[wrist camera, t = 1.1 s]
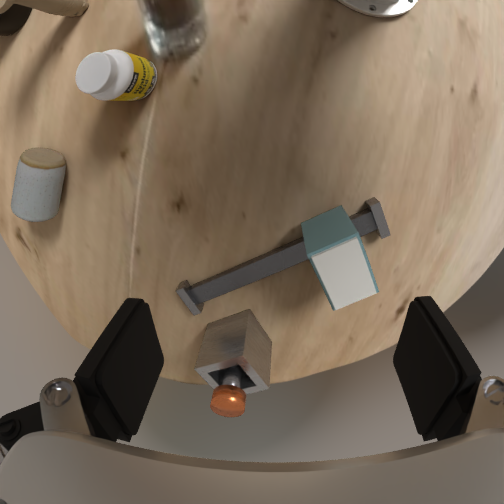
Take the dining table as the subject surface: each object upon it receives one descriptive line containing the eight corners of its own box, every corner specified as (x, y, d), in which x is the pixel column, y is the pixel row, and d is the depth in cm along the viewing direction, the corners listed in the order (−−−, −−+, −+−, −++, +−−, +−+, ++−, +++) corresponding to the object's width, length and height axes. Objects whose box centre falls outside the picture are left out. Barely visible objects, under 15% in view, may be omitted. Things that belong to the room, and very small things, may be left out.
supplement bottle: (156, 100, 29) (113, 99, 20) (116, 101, 29) (66, 104, 20) (161, 56, 27) (120, 41, 18) (120, 59, 27) (72, 49, 18)
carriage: (339, 202, 33) (359, 233, 24) (359, 251, 35) (380, 294, 27) (300, 219, 34) (306, 256, 26) (322, 267, 36) (333, 313, 28)
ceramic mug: (78, 156, 32) (40, 169, 26) (68, 210, 36) (34, 230, 29) (31, 136, 31) (-6, 146, 24) (23, 185, 35) (-10, 201, 28)
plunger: (241, 347, 37) (233, 396, 29) (255, 365, 38) (250, 414, 31) (215, 354, 38) (203, 402, 31) (230, 372, 39) (221, 419, 32)
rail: (374, 196, 32) (379, 202, 30) (385, 228, 34) (390, 235, 32) (179, 283, 40) (175, 291, 38) (197, 306, 41) (193, 315, 39)
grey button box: (249, 308, 41) (242, 355, 33) (272, 343, 43) (270, 390, 35) (207, 323, 43) (194, 368, 35) (233, 355, 45) (224, 400, 37)
